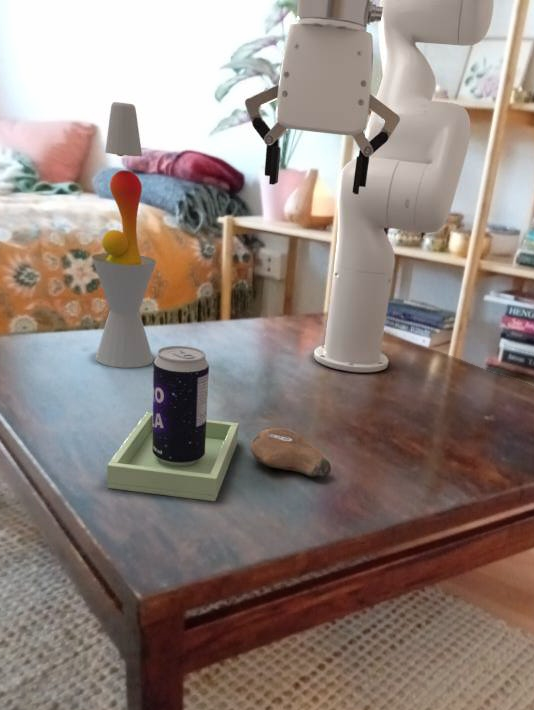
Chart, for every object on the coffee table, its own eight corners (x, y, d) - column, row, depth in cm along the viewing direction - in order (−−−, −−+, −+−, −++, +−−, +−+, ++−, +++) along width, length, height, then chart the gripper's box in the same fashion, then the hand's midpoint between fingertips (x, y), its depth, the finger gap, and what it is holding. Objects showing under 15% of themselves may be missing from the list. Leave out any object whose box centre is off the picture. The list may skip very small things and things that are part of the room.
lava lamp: (132, 347, 114) (132, 104, 99) (166, 362, 109) (171, 108, 93) (82, 354, 108) (74, 97, 92) (115, 371, 103) (112, 101, 87)
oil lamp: (265, 493, 75) (333, 488, 78) (270, 462, 73) (340, 458, 76) (242, 449, 82) (305, 446, 85) (246, 419, 80) (311, 416, 83)
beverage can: (178, 443, 81) (181, 341, 76) (215, 459, 78) (220, 354, 73) (141, 457, 77) (141, 350, 71) (179, 474, 74) (182, 364, 69)
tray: (146, 432, 84) (146, 411, 83) (237, 443, 84) (238, 423, 83) (107, 488, 71) (107, 465, 70) (215, 501, 71) (216, 478, 70)
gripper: (411, 28, 77) (386, 194, 85) (255, 11, 78) (245, 178, 85) (416, 18, 71) (389, 199, 78) (246, -1, 71) (235, 182, 79)
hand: (314, 188), depth 82 cm, fingers open, 9 cm apart
